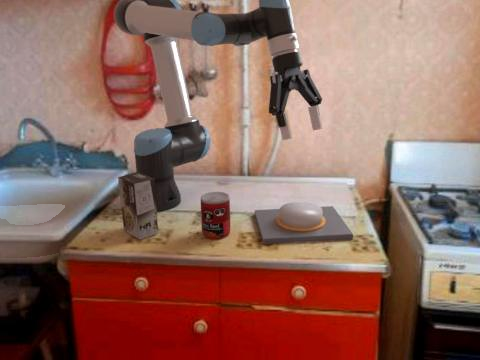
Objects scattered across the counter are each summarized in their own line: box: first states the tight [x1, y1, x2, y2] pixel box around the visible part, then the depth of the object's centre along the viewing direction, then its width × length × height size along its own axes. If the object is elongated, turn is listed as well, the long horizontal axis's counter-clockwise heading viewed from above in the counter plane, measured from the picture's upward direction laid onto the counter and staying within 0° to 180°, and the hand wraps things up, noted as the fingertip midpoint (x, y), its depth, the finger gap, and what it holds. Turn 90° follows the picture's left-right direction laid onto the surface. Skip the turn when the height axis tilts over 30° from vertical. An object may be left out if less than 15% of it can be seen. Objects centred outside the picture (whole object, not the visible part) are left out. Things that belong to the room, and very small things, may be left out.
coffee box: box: [117, 172, 159, 240], centre depth 133 cm, size 9×6×16 cm
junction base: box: [253, 201, 354, 245], centre depth 136 cm, size 20×24×5 cm
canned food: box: [200, 191, 231, 240], centre depth 131 cm, size 8×8×11 cm
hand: (303, 134), depth 127 cm, fingers open, 13 cm apart
